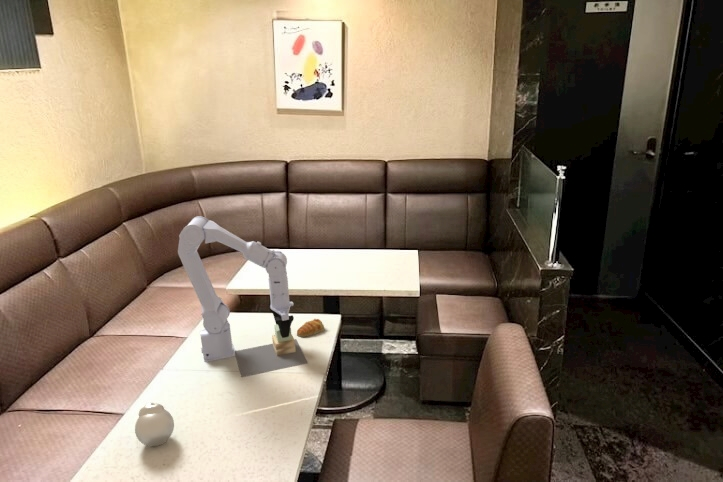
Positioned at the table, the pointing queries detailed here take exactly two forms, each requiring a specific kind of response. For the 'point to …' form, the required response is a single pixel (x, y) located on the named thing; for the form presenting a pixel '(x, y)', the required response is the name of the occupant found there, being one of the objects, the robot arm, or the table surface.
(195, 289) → the robot arm
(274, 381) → the table surface
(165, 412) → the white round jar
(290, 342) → the tower top slab
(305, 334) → the pastry
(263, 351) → the mat
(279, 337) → the green block
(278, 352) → the tower base slab
